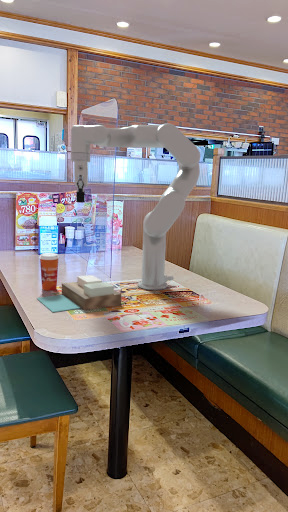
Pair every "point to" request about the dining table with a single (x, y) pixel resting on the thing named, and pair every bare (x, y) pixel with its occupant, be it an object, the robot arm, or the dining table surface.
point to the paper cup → (49, 271)
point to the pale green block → (98, 289)
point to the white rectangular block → (87, 280)
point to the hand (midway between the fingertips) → (80, 201)
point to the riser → (85, 301)
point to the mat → (58, 303)
